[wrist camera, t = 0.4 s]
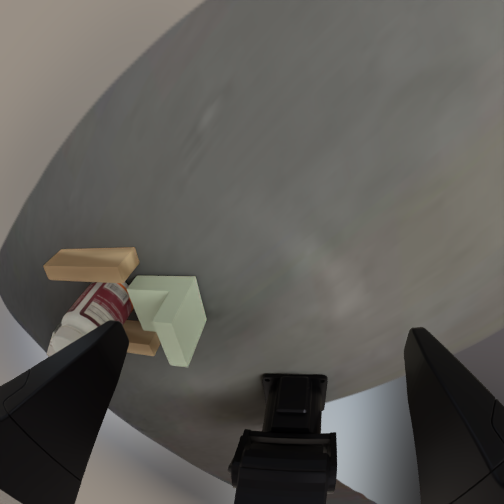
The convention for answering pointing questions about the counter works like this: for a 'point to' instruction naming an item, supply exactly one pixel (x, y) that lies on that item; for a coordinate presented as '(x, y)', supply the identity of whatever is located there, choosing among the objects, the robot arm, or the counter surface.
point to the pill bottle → (93, 311)
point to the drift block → (170, 313)
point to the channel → (106, 271)
